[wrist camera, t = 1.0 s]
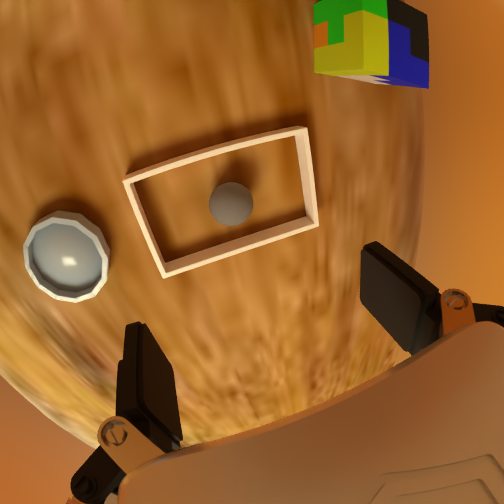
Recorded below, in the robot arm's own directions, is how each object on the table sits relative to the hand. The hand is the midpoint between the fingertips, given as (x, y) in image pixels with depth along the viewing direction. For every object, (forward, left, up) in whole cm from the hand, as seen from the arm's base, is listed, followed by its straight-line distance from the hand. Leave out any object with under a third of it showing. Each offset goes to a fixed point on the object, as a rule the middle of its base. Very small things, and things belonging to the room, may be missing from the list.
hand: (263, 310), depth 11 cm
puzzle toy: (-12, +23, -25) cm, 36 cm away
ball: (+5, +3, -25) cm, 25 cm away
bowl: (+5, -19, -25) cm, 32 cm away
